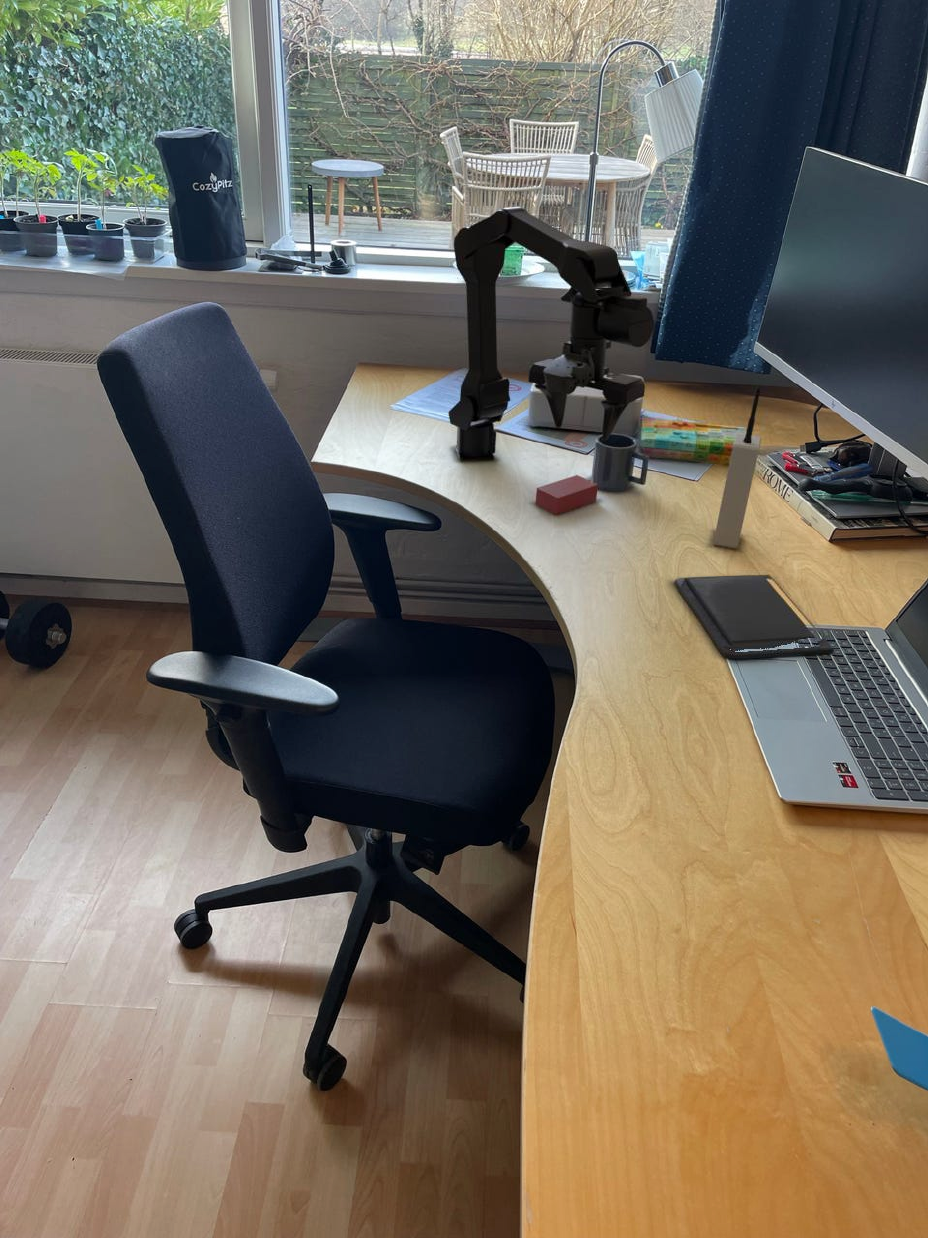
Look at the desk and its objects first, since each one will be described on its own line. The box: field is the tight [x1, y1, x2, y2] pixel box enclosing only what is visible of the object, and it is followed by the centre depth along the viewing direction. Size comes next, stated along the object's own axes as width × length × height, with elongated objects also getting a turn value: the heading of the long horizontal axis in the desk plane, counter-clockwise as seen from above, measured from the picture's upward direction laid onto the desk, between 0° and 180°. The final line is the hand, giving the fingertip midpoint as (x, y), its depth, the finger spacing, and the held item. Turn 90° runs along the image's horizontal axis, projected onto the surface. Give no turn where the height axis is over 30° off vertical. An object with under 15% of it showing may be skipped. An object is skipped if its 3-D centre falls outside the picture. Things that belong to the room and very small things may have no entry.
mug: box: [590, 433, 650, 493], centre depth 160 cm, size 10×7×8 cm
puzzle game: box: [640, 416, 747, 465], centre depth 175 cm, size 12×5×20 cm
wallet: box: [673, 574, 834, 660], centre depth 126 cm, size 20×2×15 cm
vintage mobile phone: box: [712, 386, 762, 550], centre depth 139 cm, size 4×5×25 cm
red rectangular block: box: [535, 474, 599, 516], centre depth 154 cm, size 10×5×3 cm, turn 129°
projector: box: [527, 372, 645, 438], centre depth 188 cm, size 17×22×8 cm
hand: (581, 433), depth 149 cm, fingers open, 9 cm apart
